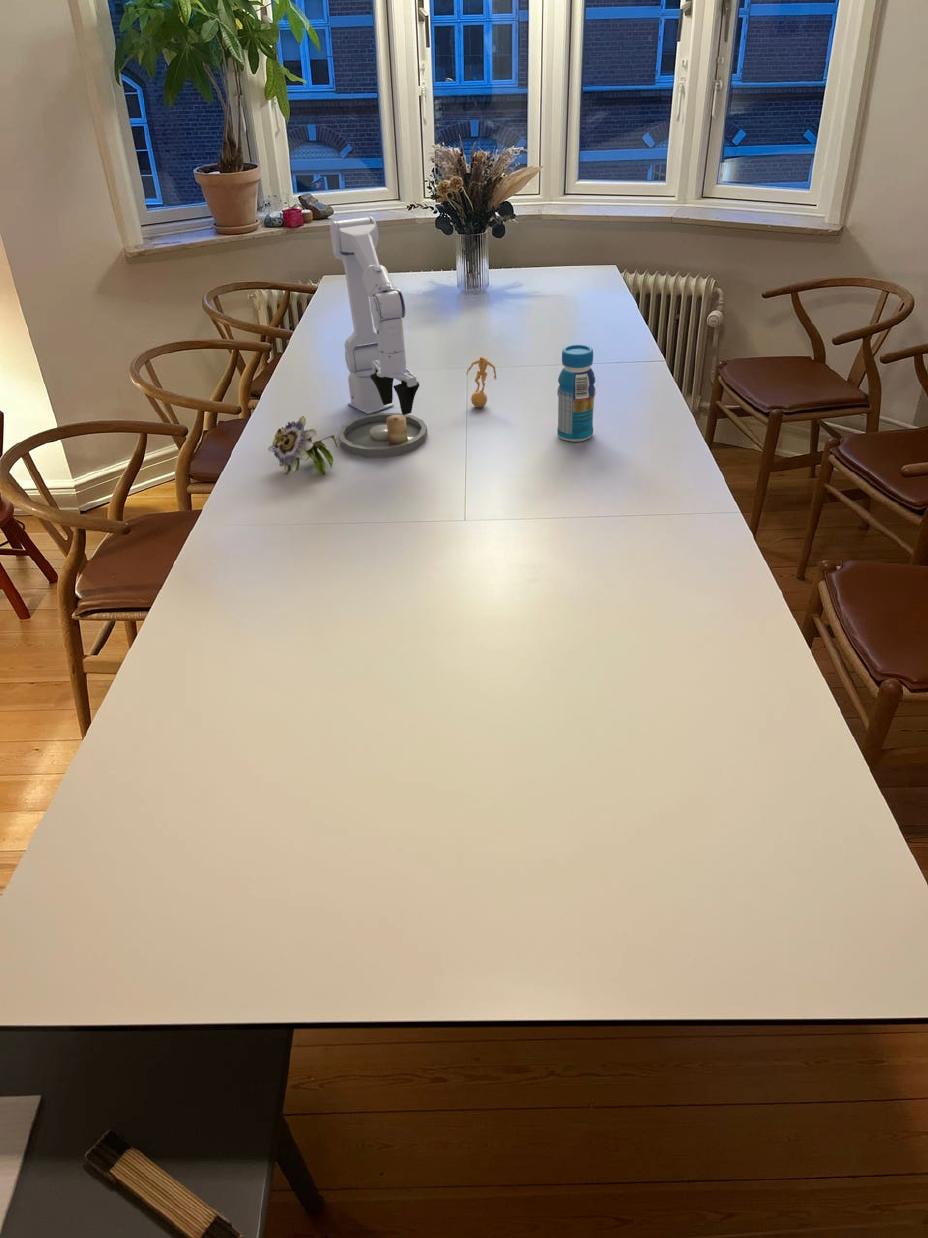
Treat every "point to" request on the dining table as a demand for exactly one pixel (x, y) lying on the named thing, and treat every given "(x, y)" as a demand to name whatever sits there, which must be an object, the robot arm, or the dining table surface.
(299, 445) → the passion flower
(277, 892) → the dining table surface
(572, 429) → the beverage bottle
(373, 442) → the round tray
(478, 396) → the figurine
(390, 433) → the oak bead
